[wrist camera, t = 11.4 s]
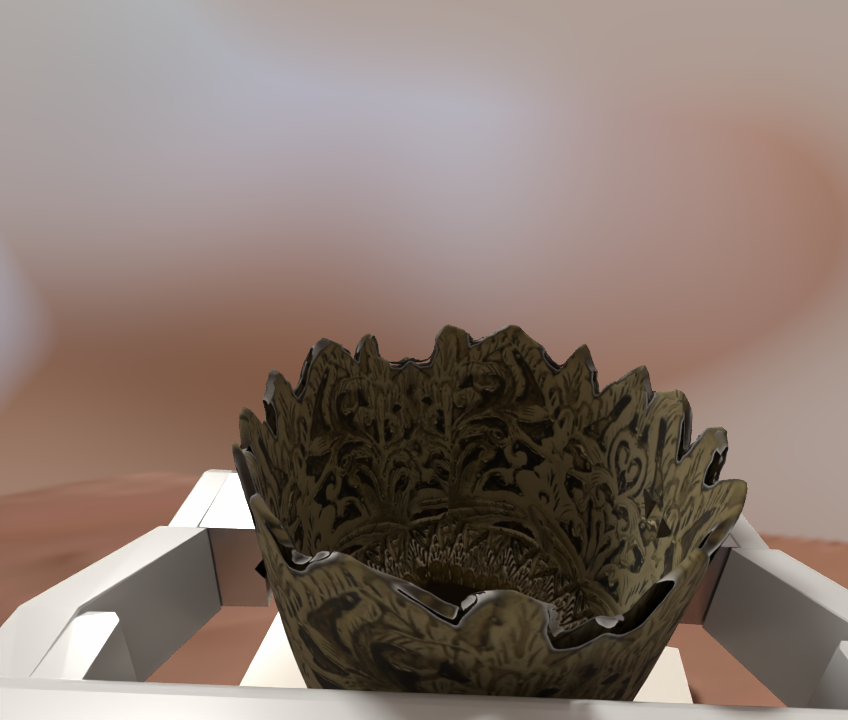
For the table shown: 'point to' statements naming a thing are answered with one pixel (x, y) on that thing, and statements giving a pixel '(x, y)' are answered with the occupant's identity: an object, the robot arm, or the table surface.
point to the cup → (480, 518)
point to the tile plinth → (282, 670)
